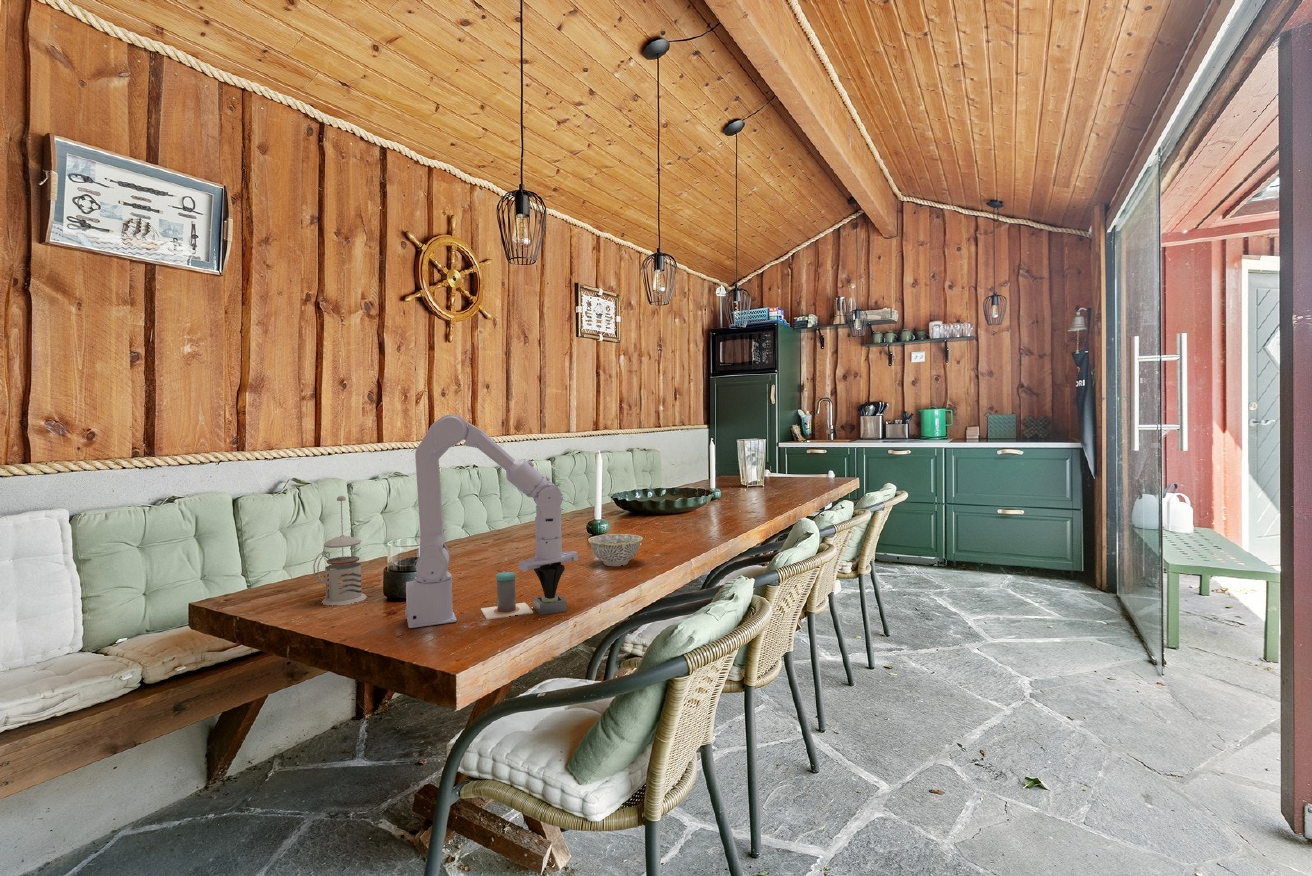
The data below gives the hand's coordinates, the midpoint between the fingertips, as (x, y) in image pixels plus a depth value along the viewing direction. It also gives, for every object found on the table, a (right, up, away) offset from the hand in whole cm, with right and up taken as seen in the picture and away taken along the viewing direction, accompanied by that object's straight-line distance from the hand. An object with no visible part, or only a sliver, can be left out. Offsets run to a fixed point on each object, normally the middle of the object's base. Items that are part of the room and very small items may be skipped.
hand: (549, 597), depth 143 cm
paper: (-9, -3, -1) cm, 10 cm away
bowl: (+12, -1, +44) cm, 46 cm away
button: (0, -2, 0) cm, 2 cm away
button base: (0, -3, 0) cm, 3 cm away
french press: (-52, -3, +10) cm, 53 cm away
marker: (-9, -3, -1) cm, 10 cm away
